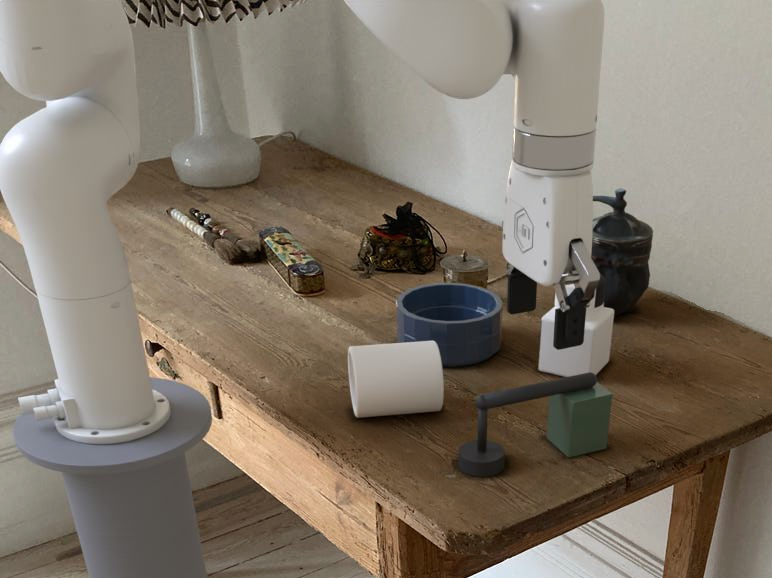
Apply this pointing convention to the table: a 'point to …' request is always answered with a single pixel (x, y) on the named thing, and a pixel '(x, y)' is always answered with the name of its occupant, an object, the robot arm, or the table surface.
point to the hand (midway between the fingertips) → (544, 328)
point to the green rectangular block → (579, 420)
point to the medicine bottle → (595, 339)
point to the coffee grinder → (621, 254)
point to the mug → (395, 378)
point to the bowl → (452, 321)
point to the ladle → (490, 455)
